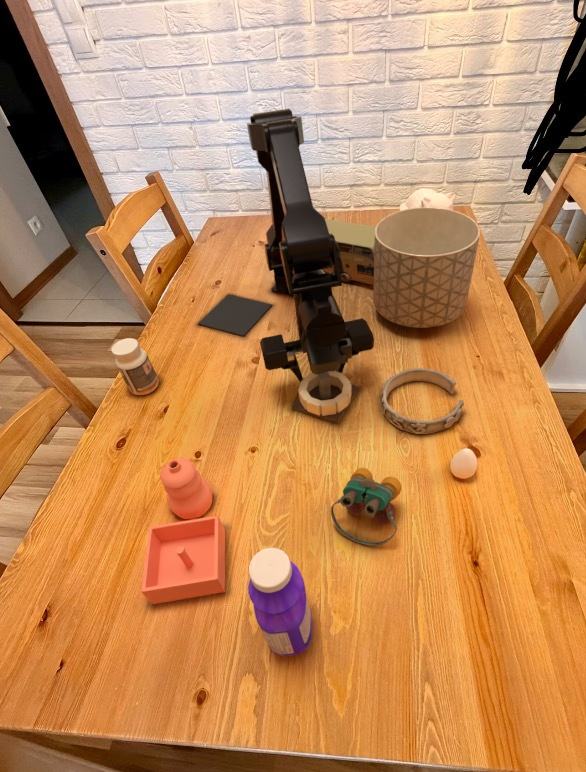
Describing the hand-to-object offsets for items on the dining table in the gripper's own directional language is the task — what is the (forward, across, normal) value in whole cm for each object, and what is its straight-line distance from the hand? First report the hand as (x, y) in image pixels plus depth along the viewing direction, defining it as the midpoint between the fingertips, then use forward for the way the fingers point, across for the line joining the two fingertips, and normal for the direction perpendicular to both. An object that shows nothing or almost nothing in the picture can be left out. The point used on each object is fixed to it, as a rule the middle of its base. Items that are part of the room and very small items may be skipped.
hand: (320, 379), depth 84 cm
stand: (+1, 0, -4) cm, 4 cm away
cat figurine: (+2, +35, +40) cm, 53 cm away
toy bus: (+2, +14, +37) cm, 40 cm away
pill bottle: (+2, -33, +10) cm, 34 cm away
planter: (+2, +25, +16) cm, 30 cm away
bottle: (+2, -13, -41) cm, 43 cm away
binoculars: (+2, 0, -29) cm, 29 cm away
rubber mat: (+2, -13, +27) cm, 30 cm away
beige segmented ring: (+1, 0, -4) cm, 4 cm away
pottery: (+2, -25, -25) cm, 35 cm away
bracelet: (+2, +16, -10) cm, 19 cm away
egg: (+2, +16, -25) cm, 30 cm away
